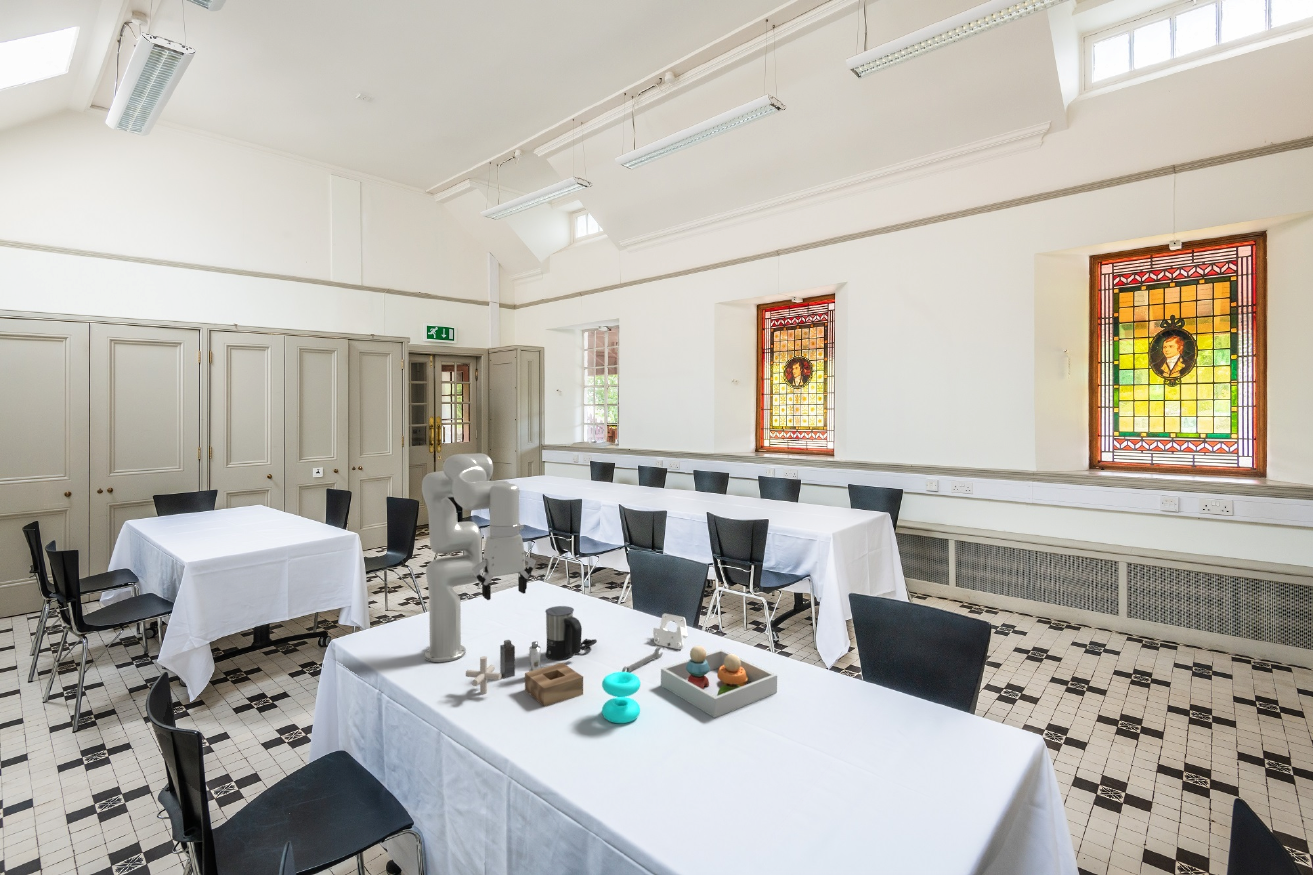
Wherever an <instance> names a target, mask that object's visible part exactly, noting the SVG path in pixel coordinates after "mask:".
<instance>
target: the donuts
mask: <svg viewBox="0 0 1313 875" xmlns="http://www.w3.org/2000/svg"><path fill="white" fill-rule="evenodd" d="M601 686H602V689H603V692H605V693H606V694H607V695H610V696H612V698H610V699H608V700H607V701H606V702H604V704H603V706H602V709H601V714H602V715H603V718H604V719H606V721H609V722H611V723H615V724H627V723H631V722H633V721H635V720H636V719H637V718H638V717H639V715H640V714H641V706H640V705H639V703H638V701H636V700H634V699H633V698H631V697H630V696H632V695H634V694H636V693H637V692H638V691H639V689H640V688H641V679H640V678H639V677H638V675H636V674H634V673H632V672H626V671H625V672H622V671H615V672H612V673H609V674H608V675H606V676H605V677H604V678H603V680H602V683H601Z"/></svg>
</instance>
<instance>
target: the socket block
mask: <svg viewBox="0 0 1313 875" xmlns="http://www.w3.org/2000/svg"><path fill="white" fill-rule="evenodd" d="M524 691H525V692H526V693H528V694H529V695H530V696H531V697H532V698H533V699H535V701H537V702H538V703H539V704H540V705H542V706H543V707H548V706H551V705H554V704H558V703H561V702H564V701H566V700H567V701H568V700H570V699H574V698H576V697H579V696H582V695H584V676H582V675H581V674H580V673H578V672H577V671H575V670H574V669H572V668H571V667H569V666H568V665H567V664H565V663H564V662H559V663H556V664H553V665H548V666H544V667H540V669H537V670H534V671H530V672H529V671H527V672H526V671H525V672H524Z"/></svg>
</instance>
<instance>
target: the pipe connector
mask: <svg viewBox="0 0 1313 875" xmlns="http://www.w3.org/2000/svg"><path fill="white" fill-rule="evenodd" d="M479 660H480V661H479V670H472V669H467V670H466V671H465V677H467V678H474V679H473V680H472V681H471V685H472V686H473V687H477V686H478V685H479V691H480V694H481V695H485V694H487V693H488V680H492V681H493V680H495V681H500V680H501V679H502V676H501V673H500V672H494V671H495V670H496V667H495V666H494V665H493V664H490V665H488V657H487V656H481V657H480V658H479Z"/></svg>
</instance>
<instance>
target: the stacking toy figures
mask: <svg viewBox="0 0 1313 875" xmlns="http://www.w3.org/2000/svg"><path fill="white" fill-rule="evenodd" d="M706 654H707V651H706V649H705V648H704V647H703V646H701V645H695V646H692V648H691V649H690V652H689V656H690V659H688V660H689V662H688V664H687V666H686V670H687V671H688V672H689V673H690V674H691V675H690V676H689V678H687V681H688V682H690V683H692V684H694V685H696V686H697V687H699V688H701V689H703V690H704V687H705V686H706V687H709V686H710V682H709V681H710V680H709V678H708V677H707V676H706V675H707V674H708V673H709V672H710V668H709V665H708V663H707V661H706V660H705V658H706ZM739 658H740V657H739V656H738V655H736V654H733V653H730V655H728V656H726V658H725V659H724V665H723V666H721V667H719V668H718V670H717V673H716V674H717V675H716V676H717V678H718V680H719V681H721V684H722V685H721V686H720V688H719V689H718V691H717V695H716V696H718V695H721V694H723V693H726V692H729V691H731V690H734V689H737V688H739V687H742V686H744V685H747V683H748V677H747V676H746V672H745V670H744V669H743V668H742V667H741V661H740V659H739Z"/></svg>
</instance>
